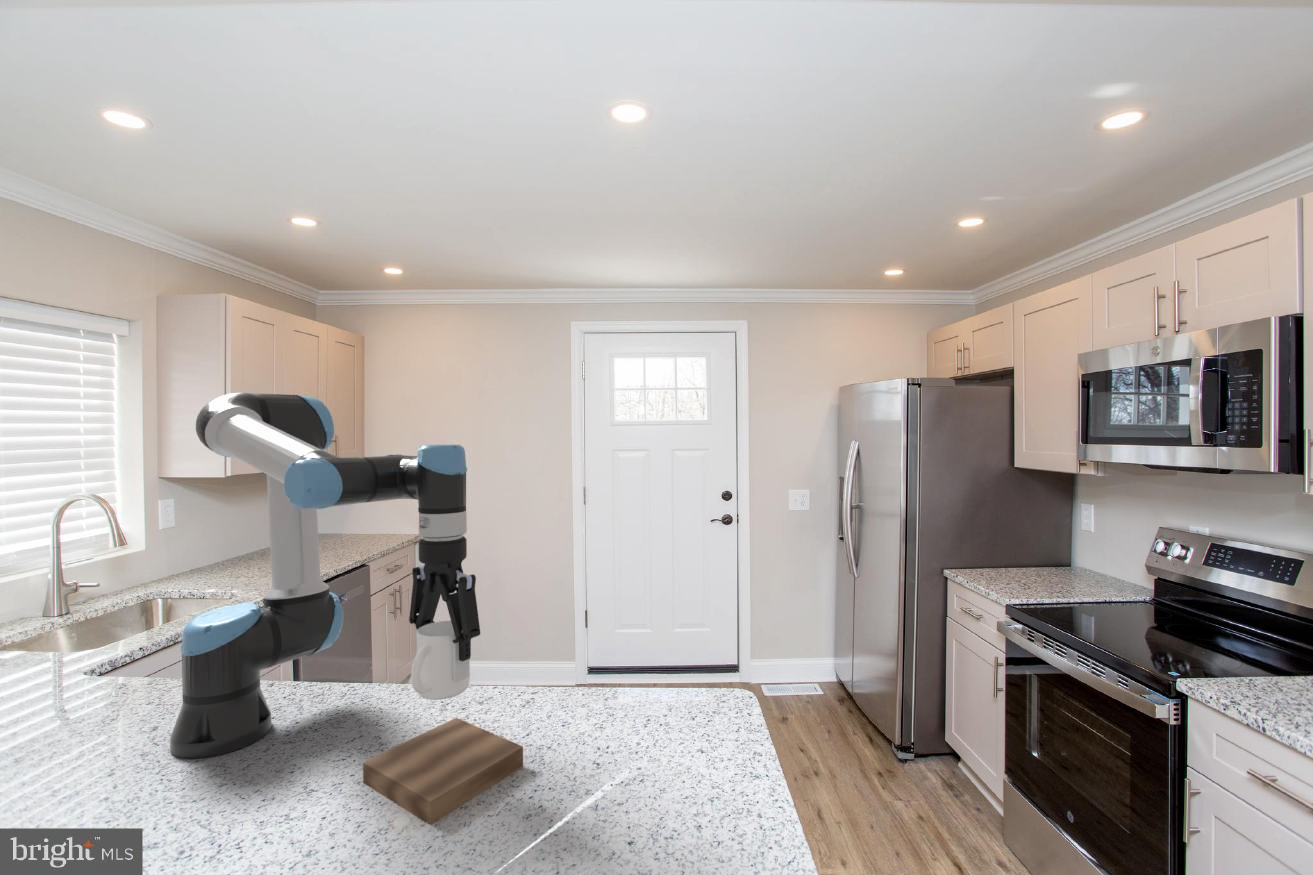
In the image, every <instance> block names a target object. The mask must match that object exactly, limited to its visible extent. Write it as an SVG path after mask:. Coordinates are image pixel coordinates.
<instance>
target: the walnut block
mask: <svg viewBox="0 0 1313 875" xmlns="http://www.w3.org/2000/svg"><path fill="white" fill-rule="evenodd" d="M523 767H524V746H523V745H520V744H518V743H517V742H513V741H511V740H509V739H507V738H504V737H502V736H500V735H498V734H494V733H493V732H491V731H488V730H486V729H484V728H481V727H479V726H477V725H475V724H472V723H469V722H467V721H464V720H463V719H460V718H459V717H455V718H453V719H450V720H449V721H446V722H445V723H444V722H443V723H442V724H440V725H438V726H436V727H434V728H432V729H430V730H428V731H426V732H424V733H422V734H419V735H417V736H415V737H413V738H411V739H408V740H407V741H405V742H403V743H401V744H398V745H397V746H394V747H392V748H390V749H388V750H385V751H384V752H382V753H379V754H377V755H376V756H374V757H370V758H369V759H368V760H365V761H363V762H362V781H363V782H362V783H363V784H364V785H366V786H367V787H369V788H370V789H372V790H374V791H375V792H377V793H378V794H380V795H382V796H383V797H385V798H386V799H388V800H390V801H391V802H393V803H395V804H396V805H397V806H399V807H401V808H403V809H404V810H405V811H407V812H409V813H410V814H412V815H413V816H415V817H417V818H418V819H419V820H421V821H423V822H424V823H426V822H427V823H426V824H428V825H429V824H430V825H429V826H431V824H432V825H433V824H435V823H436V822H437V821H440V820H441V819H443V818H444V817H446V816H447V815H449V814H451V813H452V812H454V811H455V810H457V809H458V808H460V807H462V806H464V805H465V804H466V803H468V802H469V801H471V800H473V799H475V798H476V797H477V796H479V795H481V794H483V793H484V792H485V791H487V790H488V789H491V788H492V787H494V786H495V785H496V784H498V783H500V782H501V781H503V780H505V779H506V778H508V777H509V776H511V775H512V774H514V773H515V772H517V771H519V770H520V769H523ZM434 822H435V823H434Z"/></svg>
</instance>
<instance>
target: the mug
mask: <svg viewBox="0 0 1313 875" xmlns="http://www.w3.org/2000/svg"><path fill="white" fill-rule="evenodd" d="M415 633H416V655H415V657H414V659H413V661H412V665H411V671H410V678H411V679H410V681H411V686H412V688H413V690H414V692H415V693H418V695H419V697H422V698H423V699H425V700H430V701H431V700H432V701H434V700H435V701H437V700H438V701H439V700H446V699H450V698H453V697H454V698H455V697H457V696H460V695H461V694H464V692H465V691H466V690H467V689H468V688H469V686H470V680H471V678H470V677H468V678H465V679H463V680H461V681H458V682H456V683H455V682H453V660H452V640H455V639H456V637H455V633H454V630H453V626H452V622H451V620H441V621H440V620H439V621H434V623H430V624H427V625H424V626H422V627H420V628H419V629H418V630H417V629H416V632H415ZM462 633H463V631H462ZM470 659H471V658H470ZM470 659H469V672H470V673H471V671H470V670H471V669H470V666H471V664H470V662H471V661H470Z"/></svg>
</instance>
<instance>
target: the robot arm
mask: <svg viewBox="0 0 1313 875" xmlns="http://www.w3.org/2000/svg"><path fill="white" fill-rule="evenodd" d="M195 432H196V436H197V438H198V439H199V441H200V442H201V444H202V445H203V446H204V447H206V448H207V449H208V450H210V451H211V452H213V453H215V454H217V455H219V456H222V457H225V458H237V459H239V460H240V461H243V462H244V463H245V464H247V465H250V467H253V468H255V469H256V470H258V471H260V472H262V473H264V474H265V475H266V486H267V487H266V488H267V506H268V508H267V509H268V525H269V528H268V530H269V531H268V532H269V550H270V568H271V569H270V571H271V572H270V573H271V586H270V588H269V590H267V591H266V592H265V593H264V595H263V606H262V607H259V605H258V604H257V603H253V602H242V603H236V604H233V605H232V604H231V605H225V606H221V607H218V608H214V609H211V610H208V611H206V612H203V613H202V614H199V615H198V616H195V617H194V618H193V619H191V620H190V621H189V622H188V623H186V625H185V627H183V630H182V641H181V646H180V654H181V672H182V673H181V678H182V680H181V682H182V684H181V687H182V704H181V707H180V711H179V714H178V716H177V719H176V721H175V724H174V727H173V728H172V729H173V730H172V732H171V735H170V738H169V741H170V742H169V746H170V747H169V749H170V750H169V751H170V754H171V755H172V756H174V757H175V758H180V759H188V760H192V759H193V760H195V759H204V758H210V757H216V756H220V755H224V754H228V753H230V752H234V751H236V750H240V749H242V748H245V747H246V746H249V745H251V744H254V743H255V742H257V741H258V740H260V739H261V738H263V737H264V736H266V735H267V734H268V733H269V731H270V730H271V728H272V712H271V710H270V707H269V705H268V702H267V700H266V697H265V696H264V693H263V691H262V688H261V671H263V670H265V669H270V668H272V667H274V666H278V665H281V664H285V663H287V662H288V663H289V662H291V661H294V660H298V659H301V658H303V657H309V656H313V655H315V654H316V653H319V652H321V651H323V650H326V649H328V648H330V647H332V645H334V644H335V642H336V641H337V640H338V638H339V636H340V634H341V631H342V628H343V624H344V607H343V605H342V604H341V600H340V597H339V596H338V595H337V594H336V593H334V592H332V591H331V592H330V586H329V584H327V583H326V582H324V581H323V580H322V579H321V565H320V563H321V562H320V560H321V559H320V541H319V524H318V509H319V510H322V509H323V510H324V509H327V508H331V507H332V508H333V507H339V506H349V505H355V504H356V505H357V504H363V503H364V504H365V503H375V502H385V501H392V500H407V499H408V500H417V502H418V508H417V510H418V536H419V537H420V539H419V541H418V561H419V562H420V563H421V564H424V565H421V566H417V567H413V568H412V570H411V571H412V573H411V574H412V581H413V582H412V590H411V600H410V608H409V617H408V621H409V623H410V624H411V625H413V624H414V626H415V629H416V631H417V630H418V629H419V628H420V627H422V626H424V625H427V624H430V623H434V622H435V620H434V619H435V615H436V611H437V609H438V605H439V601H440V598H441V599H442V601H443V602H445V604H446V608H447V611H448V615H449V618H450V621H451V622H452V626H453V630H454V633H455V637H456V639H455V640H452V660H453V682H455V683H456V682H458V681H461V680H463V679H465V678H468V677H470V676H471V675H470V674H471V671H470V672H469V659H471V656H472V653H471V652H472V650H471V649H472V647H471V646H472V642H471V641H472V639H473V638H476V637H478V636H481V628H480V627H481V626H480V619H479V612H478V611H479V610H478V602H477V597H476V594H477V593H476V580H477V577H476V575H475V574H473V573H472V574H469V575H468V574H466V573H464V570H463V567H462V563H463V561H464V560H465V559H466V558H467V555H468V552H467V551H468V550H467V544H468V543H467V538H466V537H465V536H464V535H465V534H467V532H468V531H467V529H468V524H467V523H468V520H467V472H468V467H467V460H466V459H467V458H466V449H465V448H464V447H463V446H462V445H461V444H422V445H420V446H419V448H418V449H417V455H403V454H387V455H382V456H381V455H380V456H359V457H358V456H356V457H355V456H353V457H340V456H336V455H334V454H331V453H329V452H327V451H324V450H327V449H328V448H330V446H331V445H332V443H333V440H332V439H333V438H334V436H335V424H334V420H333V416H332V415H331V411H330V410H329V408H328V407H327V406H326V405H325V403H324V402H323V401H322V400H320V399H318V398H316V397H313V396H307V395H306V396H305V395H299V394H280V393H279V394H277V393H274V394H273V393H257V392H255V393H252V392H232V393H231V392H230V393H228V394H223V395H220V396H218V397H216V398H214V399H212V400H211V401H209V402H207V403H206V404H205V405H204V406H203V407H202V409H200V411H199V413H198V414H197V417H196V421H195ZM462 631H463V633H462Z"/></svg>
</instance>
